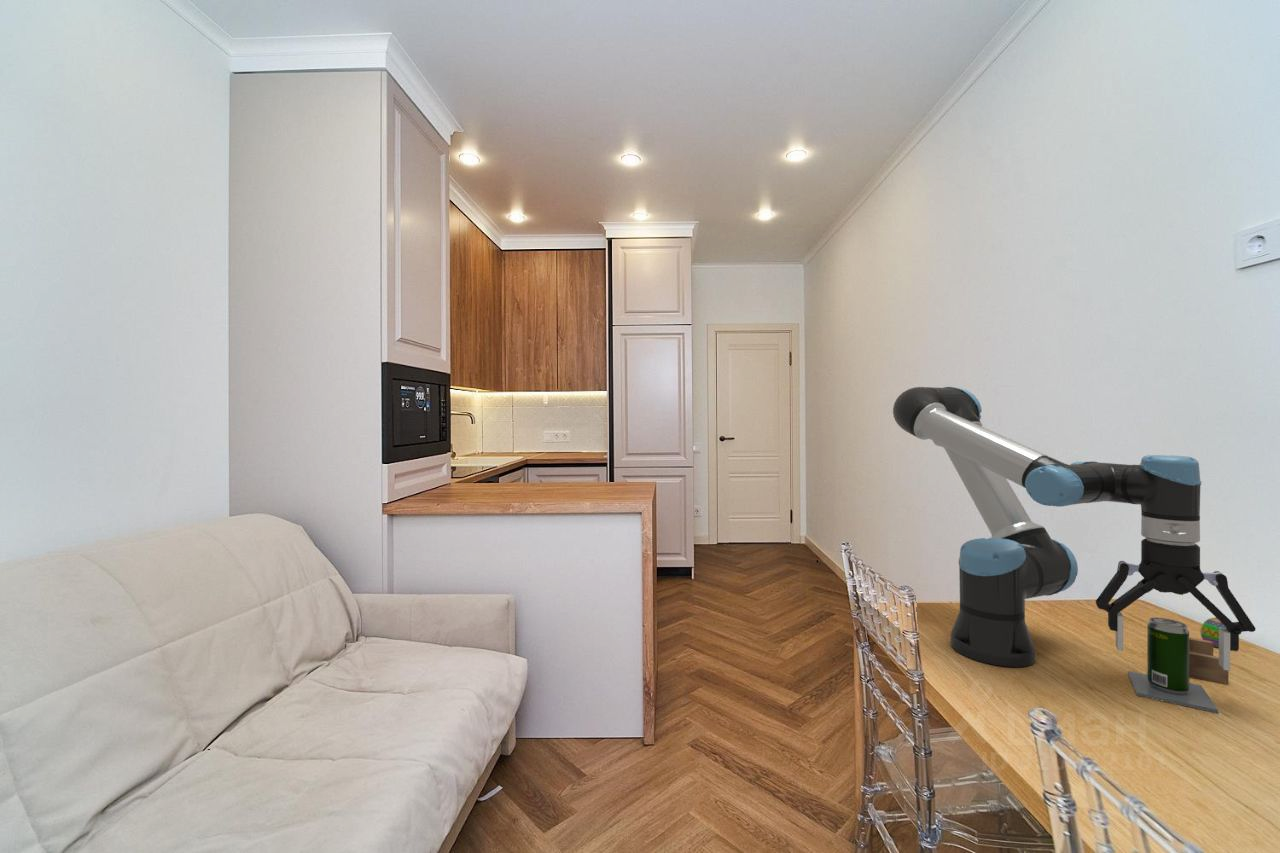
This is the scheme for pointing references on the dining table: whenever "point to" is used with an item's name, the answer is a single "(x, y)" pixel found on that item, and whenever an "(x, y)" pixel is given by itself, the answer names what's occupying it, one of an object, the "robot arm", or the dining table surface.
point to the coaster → (1192, 698)
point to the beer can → (1168, 655)
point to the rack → (1205, 662)
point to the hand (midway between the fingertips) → (1169, 657)
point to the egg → (1211, 631)
